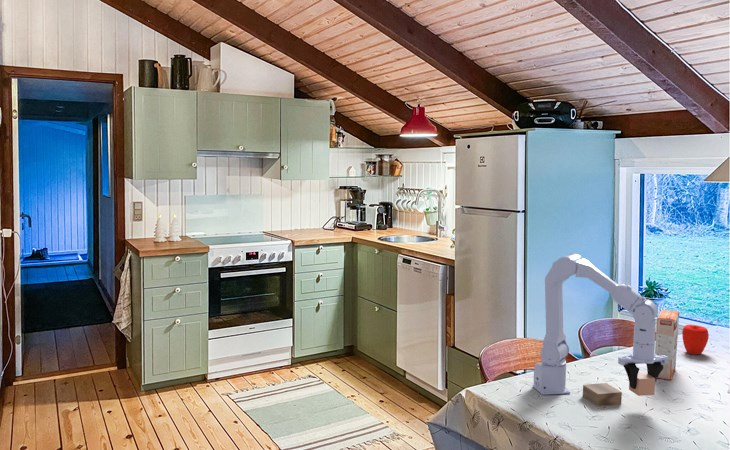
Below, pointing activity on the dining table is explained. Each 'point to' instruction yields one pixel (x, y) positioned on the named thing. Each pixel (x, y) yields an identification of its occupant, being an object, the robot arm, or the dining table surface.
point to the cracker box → (667, 341)
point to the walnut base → (602, 394)
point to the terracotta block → (644, 385)
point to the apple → (695, 338)
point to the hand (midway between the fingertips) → (641, 387)
